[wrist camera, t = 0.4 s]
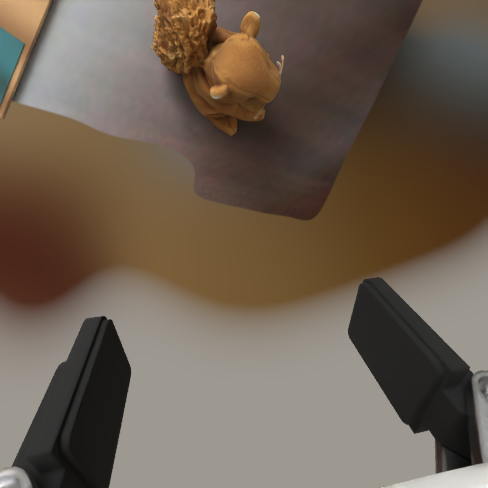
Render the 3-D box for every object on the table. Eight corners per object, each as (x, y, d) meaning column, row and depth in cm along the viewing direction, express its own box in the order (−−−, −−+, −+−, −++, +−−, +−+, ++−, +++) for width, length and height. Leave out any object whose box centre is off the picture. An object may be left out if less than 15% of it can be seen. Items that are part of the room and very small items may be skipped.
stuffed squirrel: (234, 139, 36) (254, 164, 25) (132, 62, 30) (98, 50, 19) (281, 68, 33) (329, 60, 22) (177, -34, 27) (170, -118, 16)
